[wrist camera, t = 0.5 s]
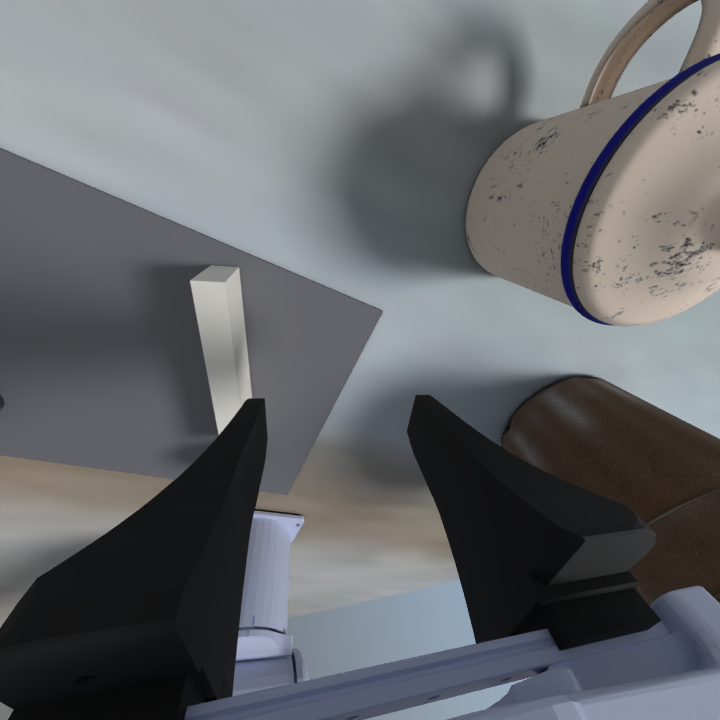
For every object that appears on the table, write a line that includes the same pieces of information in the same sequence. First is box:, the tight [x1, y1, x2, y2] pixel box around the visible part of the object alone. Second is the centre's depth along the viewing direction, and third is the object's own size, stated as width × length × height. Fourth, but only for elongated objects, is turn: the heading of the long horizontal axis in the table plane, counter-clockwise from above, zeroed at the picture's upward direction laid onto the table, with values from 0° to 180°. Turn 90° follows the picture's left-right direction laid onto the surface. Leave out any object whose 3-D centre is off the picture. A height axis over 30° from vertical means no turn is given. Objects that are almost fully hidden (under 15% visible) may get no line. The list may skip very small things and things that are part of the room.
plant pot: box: [502, 377, 720, 606], centre depth 23 cm, size 16×16×16 cm
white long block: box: [190, 265, 252, 434], centre depth 18 cm, size 13×2×4 cm, turn 174°
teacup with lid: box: [466, 0, 720, 326], centre depth 12 cm, size 12×9×12 cm
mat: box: [0, 148, 383, 495], centre depth 20 cm, size 20×22×1 cm
